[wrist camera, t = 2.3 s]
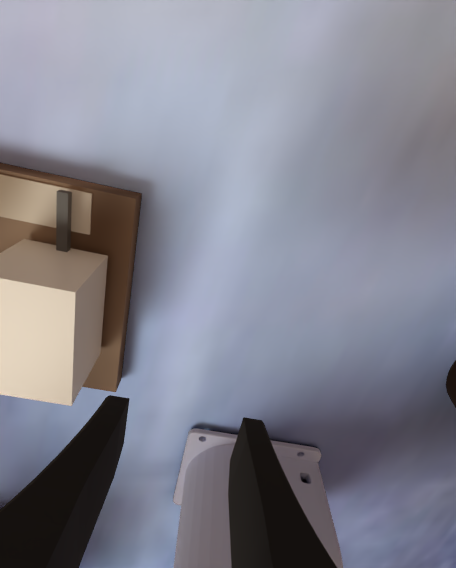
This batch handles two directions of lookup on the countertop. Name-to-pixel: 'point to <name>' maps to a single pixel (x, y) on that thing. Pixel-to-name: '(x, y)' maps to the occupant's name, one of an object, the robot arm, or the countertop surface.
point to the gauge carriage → (50, 314)
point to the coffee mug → (452, 383)
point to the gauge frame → (80, 244)
